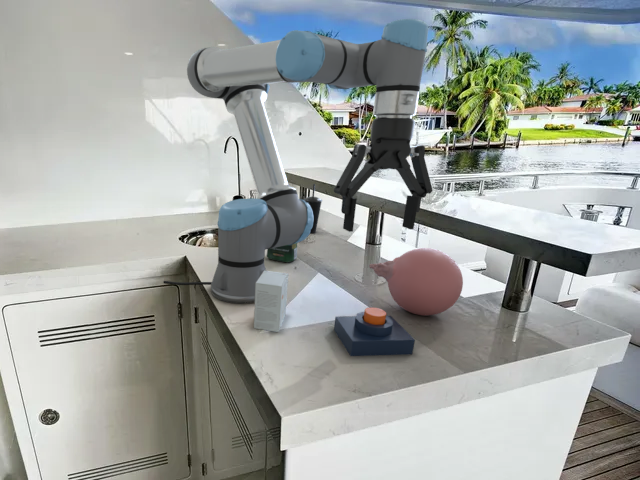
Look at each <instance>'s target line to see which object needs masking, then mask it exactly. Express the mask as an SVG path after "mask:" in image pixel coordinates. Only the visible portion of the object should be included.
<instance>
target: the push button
mask: <svg viewBox="0 0 640 480" xmlns="http://www.w3.org/2000/svg"><path fill="white" fill-rule="evenodd" d="M364 312H365V311H361V312H358V313H357V314H356V315H354V316H353V315H349V316H348V315H347V316H335V317H334V323H333V324H334V326H333V331H334V333H335V334H336V336H337V337H338V339H339V340H340V342H341V343H342V345H343V347H344V348H345V349H346V352H347V353H348V354H349V356H350V357H367V356H405V355H413V351H414V346H415V341H416V339H415V338H414V337H413V336H412V335H411V334H410V333H409V332H408V331H407V330H406V329H405V328H404V327H402V325H401V324H400V323H399V322H398V321H397V320H396V319H395V318H394V317H393V316H392V315H386V319H385V324H383V325H374V324H369V323H367V322H365V321H364V320H363V319H364Z"/></svg>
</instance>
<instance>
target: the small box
mask: <svg viewBox="0 0 640 480" xmlns="http://www.w3.org/2000/svg"><path fill="white" fill-rule="evenodd" d="M288 285H289V273H288V272H280V271H272V270H266V271H265V270H264V271H263V273H262V274H261V276H260V277H259V279H258V280H257V282H256V283H255V302H254V310H253V311H254V312H253V313H254V314H253V329H256V330H263V331H269V332H275V333H279V332H280V330H281V327H282V325H283V322H284V320H285V317H286V312H287V299H288V287H289V286H288Z"/></svg>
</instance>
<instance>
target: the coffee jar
mask: <svg viewBox="0 0 640 480" xmlns="http://www.w3.org/2000/svg"><path fill="white" fill-rule="evenodd" d="M266 258H267V259H269V260H272V261H277V262H283V263H290V262H294V261H296V259H297V258H298V243H295V244H293V245H285V246H280V247H275V248H271V249H266Z"/></svg>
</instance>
